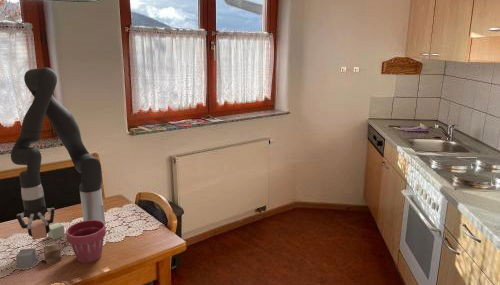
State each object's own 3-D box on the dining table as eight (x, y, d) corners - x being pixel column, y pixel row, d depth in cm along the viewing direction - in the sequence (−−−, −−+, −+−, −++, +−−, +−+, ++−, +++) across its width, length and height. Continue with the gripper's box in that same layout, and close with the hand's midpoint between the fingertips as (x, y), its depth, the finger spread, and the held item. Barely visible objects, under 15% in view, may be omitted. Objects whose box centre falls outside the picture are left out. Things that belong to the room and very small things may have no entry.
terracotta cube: (46, 231, 164) (45, 221, 163) (46, 237, 160) (44, 225, 159) (33, 234, 162) (31, 223, 161) (32, 240, 158) (30, 228, 157)
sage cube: (59, 232, 177) (58, 222, 176) (65, 235, 174) (63, 225, 173) (48, 236, 174) (46, 226, 172) (53, 240, 171) (52, 229, 169)
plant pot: (86, 270, 147) (82, 239, 144) (61, 260, 154) (57, 231, 151) (115, 253, 159) (112, 224, 156) (92, 244, 166) (88, 216, 163)
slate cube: (36, 259, 155) (34, 248, 154) (32, 266, 150) (30, 255, 149) (22, 261, 154) (20, 249, 153) (17, 268, 150) (15, 256, 148)
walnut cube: (59, 255, 158) (57, 243, 157) (61, 260, 154) (59, 249, 153) (45, 259, 156) (43, 247, 154) (47, 264, 152) (45, 253, 150)
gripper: (53, 189, 163) (58, 226, 167) (13, 195, 157) (20, 234, 161) (53, 195, 156) (59, 234, 161) (11, 202, 150) (18, 242, 155)
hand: (39, 234), depth 161 cm, fingers closed on terracotta cube, 5 cm apart
